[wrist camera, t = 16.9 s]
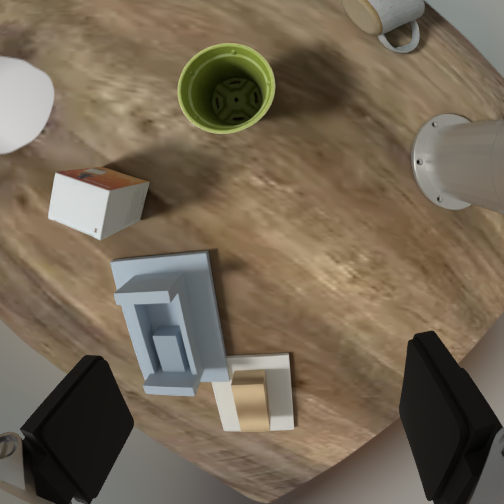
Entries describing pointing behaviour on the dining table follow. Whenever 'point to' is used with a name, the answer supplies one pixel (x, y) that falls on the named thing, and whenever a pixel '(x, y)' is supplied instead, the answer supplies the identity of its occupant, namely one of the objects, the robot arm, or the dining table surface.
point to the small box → (97, 200)
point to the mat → (276, 386)
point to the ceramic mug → (386, 18)
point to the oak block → (251, 400)
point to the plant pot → (226, 88)
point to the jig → (172, 320)
